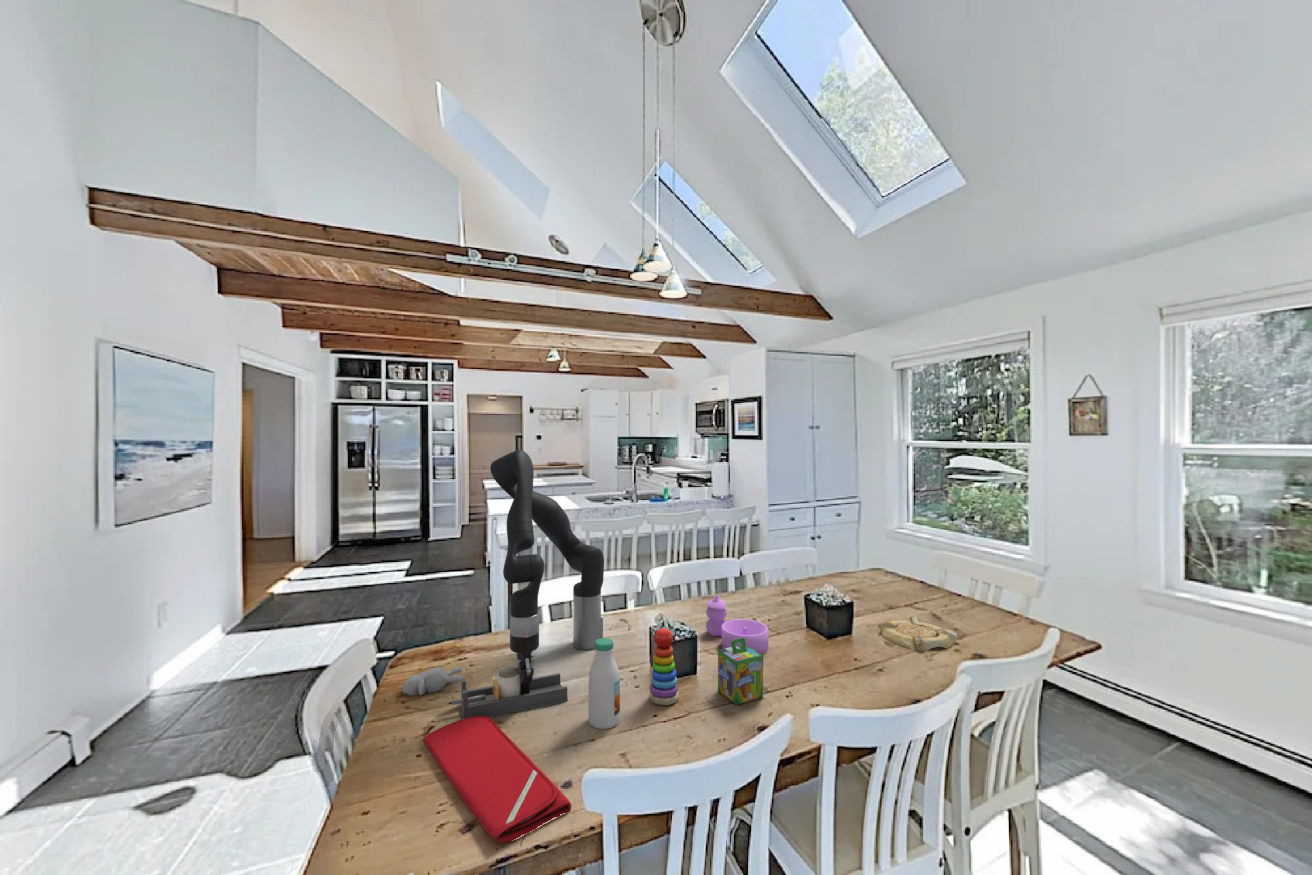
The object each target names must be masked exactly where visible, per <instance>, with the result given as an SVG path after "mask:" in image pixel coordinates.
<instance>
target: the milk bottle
mask: <svg viewBox="0 0 1312 875" xmlns="http://www.w3.org/2000/svg"><path fill="white" fill-rule="evenodd" d="M613 651H614V641H613V639H612V638H608V637H603V638H601V639H598V640H596V641H595V648H594V652H595V655H594V658H593V662H592V664H591V666H590V669H589V672H588V723H589V725H590V726H591V727H592V728H595V729H599V730H608V729H612V728H614V727H616V726H618V724H619V723H620V720H621V692H620V691H621V689H620V688H621V686H620V685H621V680H620V678H621V677H620V671H619V667H618V664H617V662H616V659H615V657H614V654H613Z"/></svg>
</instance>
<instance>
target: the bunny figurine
mask: <svg viewBox="0 0 1312 875" xmlns="http://www.w3.org/2000/svg"><path fill="white" fill-rule="evenodd" d="M462 670H463V669H462V666H455V667H453V668H451V669H449V670H448V671H446V670H445V669H443V668H442V667H441V666H438V667H437V666H436V667H432V668H430V669H428V670H426V671H422V672H420V673H419V674H412V675H411V676H410V677H408V679H407V680H406V681H404V682H403V685H402V693H403V695H405V694H406V695H408V696H411V697H412V696H418V695H419V696H423V695H424V694H425V693H436V692H439V691H442V689H444V687H445V685H446V684H447V683H459V682H461V679H462V678H463V677H462V675H461V674H457V673H459V672H462Z"/></svg>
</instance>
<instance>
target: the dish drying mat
mask: <svg viewBox="0 0 1312 875" xmlns="http://www.w3.org/2000/svg"><path fill="white" fill-rule="evenodd" d="M422 742H423V744H424V746H426V748H427V749H428V750H429V752H430V753H431V755H432V756H433V758H434V761H435V762H436V763H437V764H438V766H439V768H440V769H441V771H442V772H443V773H444V775H445V776H446V778H447V779H448V781H449V782H450V784H451V785H452V787H453V788H454V789H455V790H456V792H457V793H458V795H459V797H460V799H461V800H462V801H463V802H464V804H465V805H466V807H467V808H468V810H469V811H470V812H471V814H473V816H474V817H475V818H476V819H477V821H478V822H479V824H480V825H481V826H482V827H483V828H484V830H485V831H486V832H487V833H488V835H489V836H491V838H492V839H494V840H495V842H497V843H500V844H505V843H511V842H513V841H512V840H514V839H516V838H518V837H520V836H521V835H523V834H526V833H529V832H530V831H532V830H534V829H536V828H537V827H538V826H540V825H542V824H543V823H545V822H547V821H549V820H551V819H552V818H554V817H558V816H560V814H563V813H567V812H569V813H570V812H571V811H572V804H571V801H570V800H569V799H568V797H566V795H565V794H564V793H563V792H562V791H561V790H560V789H559V788H558V787H557V785H556V784H555V783H554V782H553V781H552V779H550V778H549V777H548V776H547V775H546V774H545V773H544V771H542V769H540V768H539V767H538V766H537V765H536V764H535V763H534V762H533V760H532V759H531V758H530V757H529V756H528V755H527V754H525V752H524V751H522V750H521V748H519V747H518V746H517V744H515V743H514V741H513V740H512V739H511V738H510V737H509V736H508V734H506V733H505V732H504V731H503V730H502V729H501V728H500V727H499V725H497V723H496V722H495V721H494V720H493V719H492V718H491V717H490V718H489V717H488V716H486V715H484V716H474V717H469V718H466V719H463V718H462V719H460V720H458V721H453V722H451V723H449V724H446V725H445V726H442V727H440V728H438V729H436V730H434V731H432V732H430V733H428V734H427V735H424V736H423V739H422ZM567 814H568V813H567ZM560 817H561V816H560ZM536 830H537V829H536ZM534 831H535V830H534ZM529 834H530V833H529ZM510 841H511V842H510Z"/></svg>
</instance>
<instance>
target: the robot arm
mask: <svg viewBox="0 0 1312 875" xmlns="http://www.w3.org/2000/svg"><path fill="white" fill-rule="evenodd" d="M490 473H491V474H490V475H491V476H492V478H493V480H494V481H495V482H496V483H497V485H498V486H499V487H500V488H501V489H502V490H503V491H504V492H505V493H506V494H508V495H509V497H510V498H512V499H513V501H512V502H511V505H510V508H509V510H508V513H507V518H506V535H507V537H506V538H507V552H506V556H505V560H504V564H503V570H502V571H503V572H502V575H503V578H504V580H505V581H506V583H508V584H511V585H512V584H522V583H528V585H527V586H525V587H523V588H520V589H519V590H518V589H517V590H516V591H514V592H513V593H512V594H511V595H510V620H509V649H510V651H511V652H513V653H515V654H516V655H515V660H516V662H517V663H516V667H517V668H518V669H519V675H520V676H521V680H520V682H521V695H524V694H529V693H530V683H531V682H532V678H534V677H533V676H534V672H535V669H534V667H533V664H534V655H533V652H535V651H536V650H537V649H539V646H540V619H539V593H540V587H541V583H542V579H543V576H544V573H545V560H544V559H543V557H542V556H541V555H539V554H535V553H534V554H533V553H532V554H524V555H523V554H522V555H518V554H519V553H521V552H524V551H526V550H529V549H531V548H532V547H533V546H534V544H535V534H534V533H535V532H534V524H535V525H536V526H537V527H538V528H539V530H541V531H542V533H543V534H545V536H546V537H547V538H548V539H549V540H550V541H551V543H553V544H554V546H556V548H557V549H558V550H559V552H560V553H561V555H562V556H563V557H564V559H565V561H566V563H567V564H568V566H570V568H571V569H572V570H574V571H575V572H577V573H581V577H580V578H581V579H580V582H577V583H575V584H574V585H573V588H572V590H573V592H572V597H573V598H572V600H573V601H572V602H573V606H572V607H573V609H572V610H573V611H572V612H573V615H572V616H573V620H572V621H573V622H572V624H573V629H572V630H573V632H572V633H573V647H574V648H576V649H579V650H592V649H593V650H595V641H596V640H598V639H601V638H604V616H603V615H602V587H603V584H604V575H605V574H604V572H605V571H604V570H605V556H604V553H603V551H602V549H600V548H599V547H597V546H593V545H588V544H585V543H583V542H582V541H581V540H580V539H579V538H578V537H577V536H576V535H575V533H574V532H573V530H572V527H571V522H570V519H569V517H568V515H567V513H566V511H565V510H564V508H562V506H560V505H561V504H559V503H558V502H557V501H556V500H555V499H553V498H552V497H550V496H548V495H545V494H542V493H540V492H537V491H534V476H535V475H534V464H533V461H532V459H531V456H530V455H529V454H528V453H527V452H526V451H524V450H522V449H517V450H514V451H511V452H509V453H507V454H505V455H503V456H501V457H499V458H497V459H495V460H493V461H492V462H491V464H490ZM533 522H534V524H533Z"/></svg>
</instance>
